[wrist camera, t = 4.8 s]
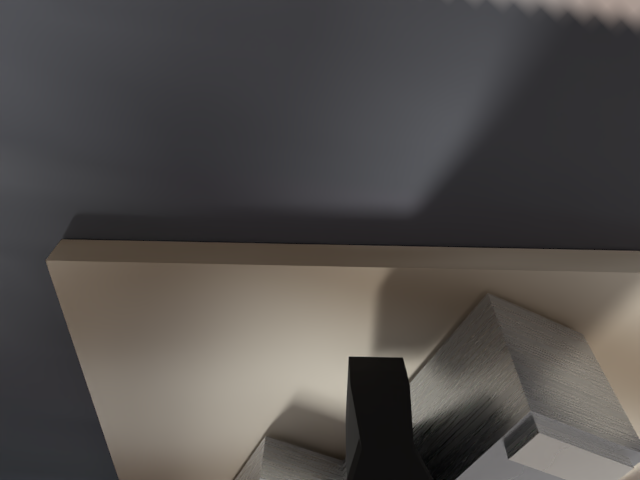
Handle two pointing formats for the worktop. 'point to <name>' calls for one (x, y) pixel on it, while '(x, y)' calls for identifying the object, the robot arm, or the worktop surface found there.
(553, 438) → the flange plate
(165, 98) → the worktop surface
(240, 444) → the board
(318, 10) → the worktop surface
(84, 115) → the worktop surface
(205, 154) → the worktop surface
